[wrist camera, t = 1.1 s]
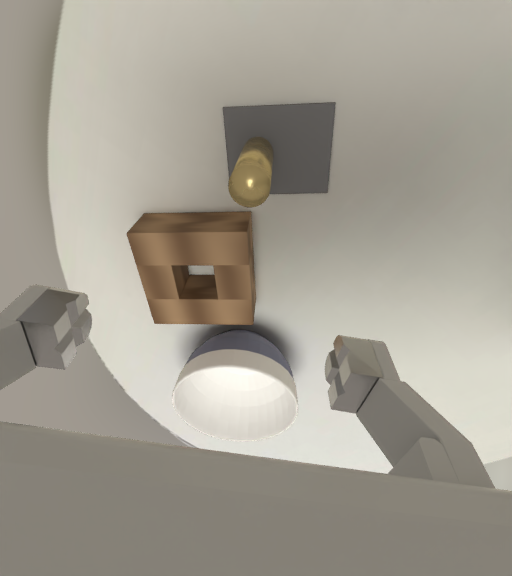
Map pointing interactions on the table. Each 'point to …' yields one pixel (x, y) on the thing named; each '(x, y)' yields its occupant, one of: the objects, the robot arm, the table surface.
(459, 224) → the table surface
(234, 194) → the brass peg
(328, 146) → the rubber mat
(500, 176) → the table surface
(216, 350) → the bowl
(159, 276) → the hole block
